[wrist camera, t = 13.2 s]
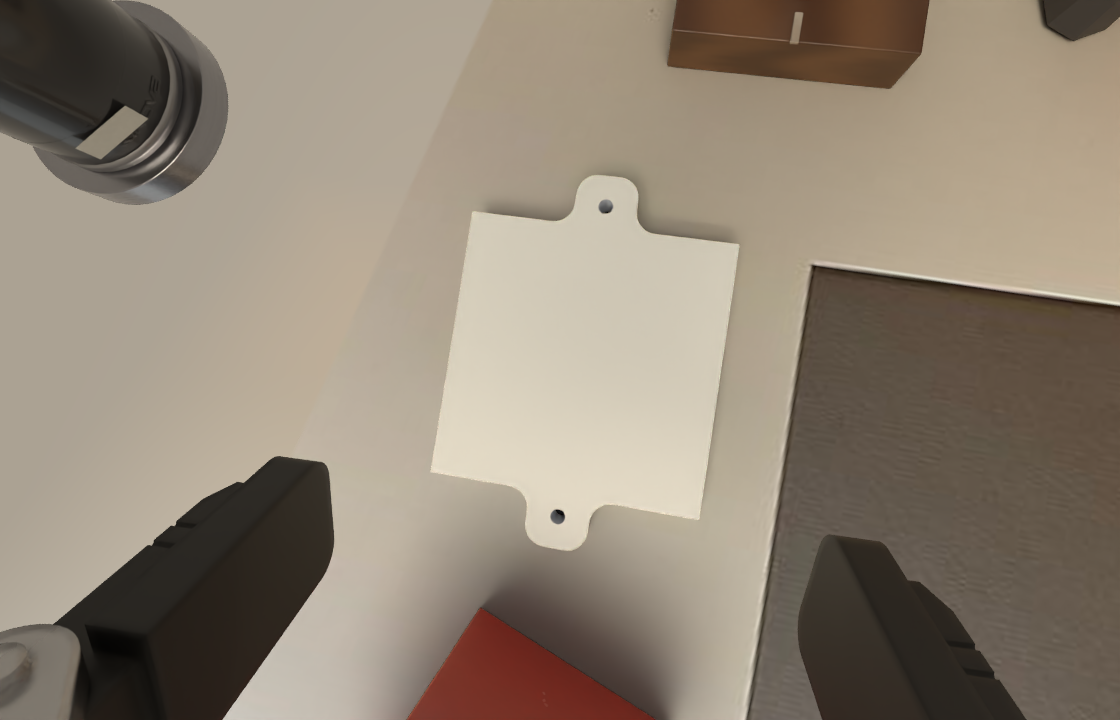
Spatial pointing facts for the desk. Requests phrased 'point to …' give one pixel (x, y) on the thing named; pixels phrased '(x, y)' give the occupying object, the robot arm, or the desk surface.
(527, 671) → the toaster
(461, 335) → the mounting plate
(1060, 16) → the wizard figurine
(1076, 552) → the desk surface
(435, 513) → the desk surface
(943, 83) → the desk surface
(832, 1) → the dial panel
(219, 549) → the robot arm
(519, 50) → the desk surface
